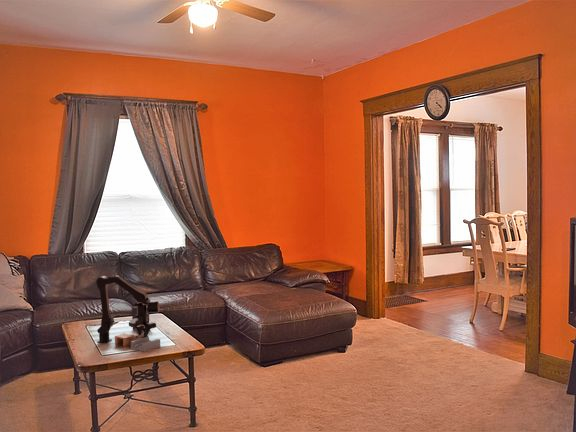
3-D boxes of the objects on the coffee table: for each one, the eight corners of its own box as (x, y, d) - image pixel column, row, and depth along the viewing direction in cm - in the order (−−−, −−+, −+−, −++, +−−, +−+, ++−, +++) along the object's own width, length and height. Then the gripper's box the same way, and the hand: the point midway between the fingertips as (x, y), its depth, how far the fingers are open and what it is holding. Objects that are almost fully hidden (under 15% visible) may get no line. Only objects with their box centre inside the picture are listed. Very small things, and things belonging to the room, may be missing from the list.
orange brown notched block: (125, 348, 309) (125, 338, 309) (115, 346, 314) (114, 336, 314) (135, 345, 315) (134, 335, 315) (124, 343, 320) (124, 333, 320)
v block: (144, 351, 302) (144, 344, 302) (131, 348, 308) (130, 341, 308) (160, 346, 312) (160, 339, 312) (147, 343, 318) (146, 336, 318)
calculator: (150, 329, 354) (149, 306, 353) (146, 330, 349) (146, 308, 349) (135, 328, 357) (134, 306, 356) (132, 330, 352) (131, 307, 352)
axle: (126, 346, 314) (127, 339, 313) (122, 345, 316) (122, 338, 315) (147, 340, 327) (148, 333, 327) (143, 338, 329) (143, 332, 329)
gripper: (121, 313, 324) (121, 339, 324) (142, 317, 314) (143, 343, 314) (135, 310, 333) (136, 335, 334) (156, 313, 323) (157, 339, 323)
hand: (142, 338), depth 326 cm, fingers closed on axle, 4 cm apart
